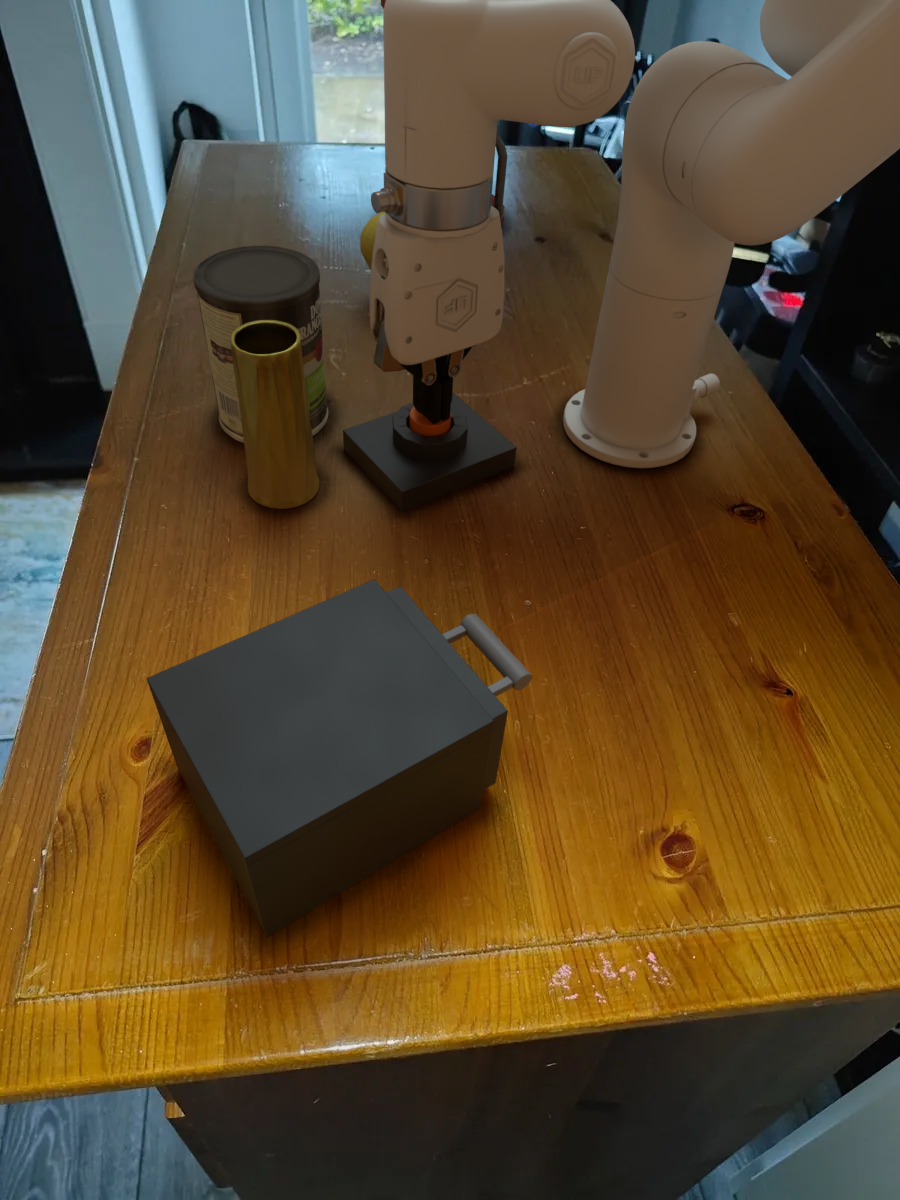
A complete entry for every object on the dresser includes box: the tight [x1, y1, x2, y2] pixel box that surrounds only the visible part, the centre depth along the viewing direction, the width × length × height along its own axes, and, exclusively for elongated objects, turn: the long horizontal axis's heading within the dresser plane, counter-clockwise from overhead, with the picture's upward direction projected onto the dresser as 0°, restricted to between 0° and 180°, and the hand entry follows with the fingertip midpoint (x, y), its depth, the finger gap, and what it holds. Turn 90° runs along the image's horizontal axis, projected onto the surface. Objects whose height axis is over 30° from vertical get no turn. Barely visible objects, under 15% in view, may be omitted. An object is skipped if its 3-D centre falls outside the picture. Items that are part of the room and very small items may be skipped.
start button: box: [409, 407, 451, 436], centre depth 74 cm, size 4×4×2 cm
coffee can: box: [192, 245, 329, 444], centre depth 75 cm, size 10×10×14 cm
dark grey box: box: [146, 579, 494, 938], centre depth 49 cm, size 15×13×10 cm
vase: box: [231, 320, 320, 510], centre depth 68 cm, size 6×6×14 cm
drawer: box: [385, 585, 533, 791], centre depth 51 cm, size 18×11×8 cm, turn 124°
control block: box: [342, 392, 517, 512], centre depth 75 cm, size 12×10×4 cm
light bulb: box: [359, 212, 386, 271], centre depth 92 cm, size 7×7×10 cm
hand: (432, 413), depth 73 cm, fingers closed
